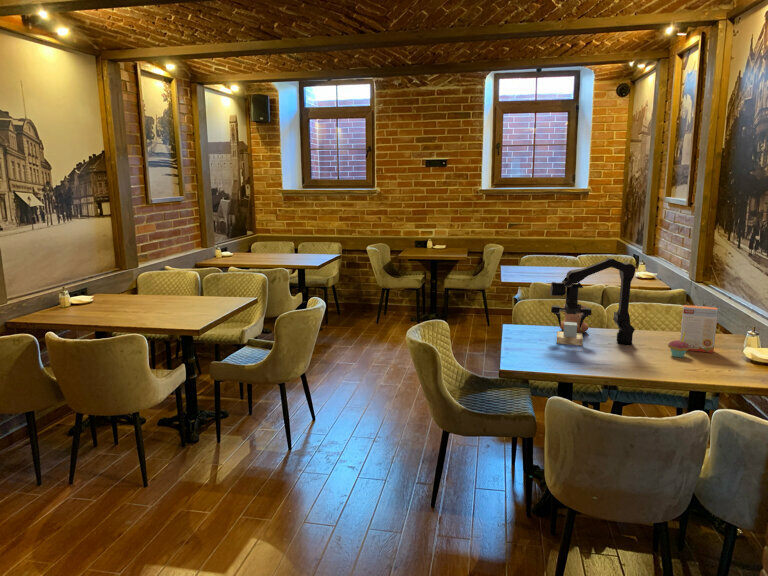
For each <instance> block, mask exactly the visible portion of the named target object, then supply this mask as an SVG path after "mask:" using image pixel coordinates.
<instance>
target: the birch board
mask: <svg viewBox="0 0 768 576" xmlns="http://www.w3.org/2000/svg"><path fill="white" fill-rule="evenodd" d="M583 342H584V338H583V333H577V335H576V337H565V336H564V331H561V330H560V331H556V344H559V345H561V344H562V345H572V346H573V345H574V346H583Z"/></svg>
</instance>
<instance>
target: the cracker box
mask: <svg viewBox="0 0 768 576" xmlns="http://www.w3.org/2000/svg"><path fill="white" fill-rule="evenodd" d="M718 313H719V310H718V308H717V307H713V306H703V305H701V306H700V305H690V304H688V305H687V304H683V306H682V315H681V316H682V317H681V325H680V327H681V328H680V335H679V340H681V341H682V337H683V334H684V332H685V336H684V340H683V342H686V343H687V344H689V350H688V351H691V352H701V353H702V352H703V353H708V354H709V353H710V354H713V353H714V352H715V342H716V341H715V340H716V332H717V322H718Z"/></svg>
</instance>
